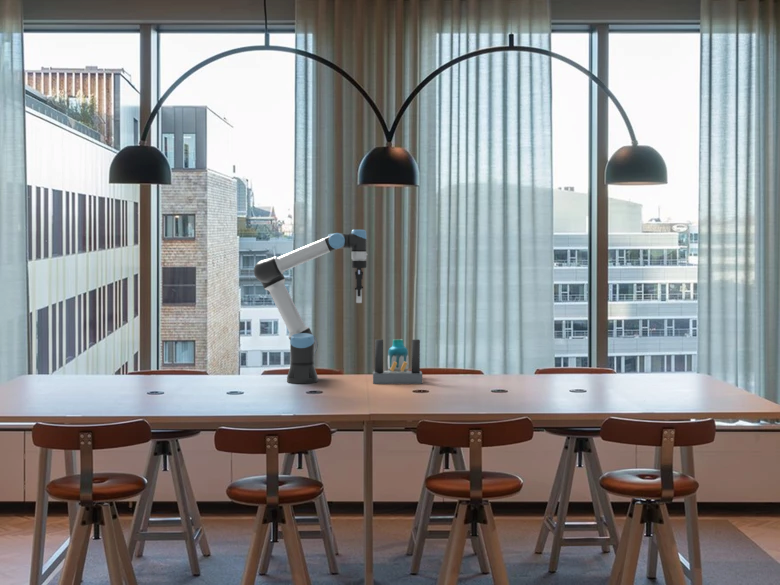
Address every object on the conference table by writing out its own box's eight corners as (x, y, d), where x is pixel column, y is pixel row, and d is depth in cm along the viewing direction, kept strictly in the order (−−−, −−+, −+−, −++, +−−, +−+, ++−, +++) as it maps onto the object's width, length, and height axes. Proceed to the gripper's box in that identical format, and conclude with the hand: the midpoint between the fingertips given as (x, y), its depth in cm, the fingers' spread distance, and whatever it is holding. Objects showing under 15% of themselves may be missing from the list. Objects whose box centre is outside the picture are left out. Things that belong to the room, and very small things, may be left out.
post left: (375, 372, 465) (375, 340, 464) (375, 371, 469) (375, 339, 468) (383, 372, 465) (383, 340, 465) (383, 371, 469) (383, 339, 469)
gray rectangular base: (373, 383, 462) (373, 372, 462) (372, 380, 472) (373, 370, 472) (422, 383, 463) (422, 372, 463) (421, 380, 473) (421, 370, 473)
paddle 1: (390, 370, 466) (394, 361, 466) (390, 369, 469) (394, 361, 469) (393, 371, 466) (397, 363, 466) (393, 370, 469) (397, 362, 469)
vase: (384, 376, 490) (384, 339, 489) (402, 374, 495) (402, 338, 494) (393, 378, 481) (393, 340, 480) (411, 377, 485) (411, 340, 484)
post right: (411, 372, 466) (411, 340, 465) (411, 371, 470) (411, 339, 469) (419, 372, 466) (420, 340, 465) (419, 371, 470) (419, 339, 469)
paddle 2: (400, 369, 466) (404, 361, 466) (400, 369, 469) (404, 361, 469) (403, 371, 466) (407, 363, 466) (403, 370, 469) (407, 362, 469)
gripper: (366, 260, 467) (366, 303, 468) (366, 259, 492) (366, 300, 493) (351, 260, 467) (351, 303, 468) (352, 259, 492) (352, 300, 493)
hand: (359, 302), depth 480 cm, fingers open, 13 cm apart
